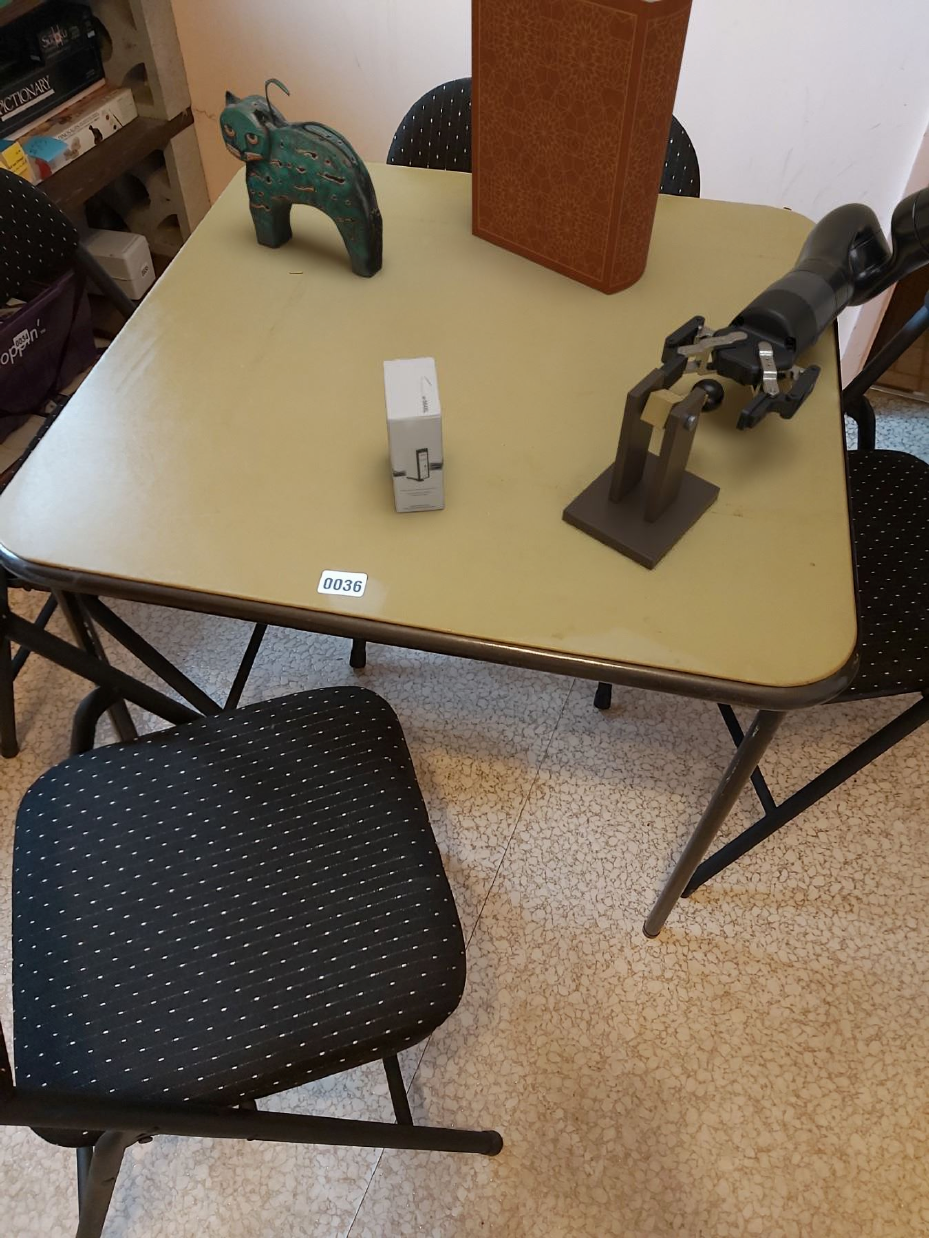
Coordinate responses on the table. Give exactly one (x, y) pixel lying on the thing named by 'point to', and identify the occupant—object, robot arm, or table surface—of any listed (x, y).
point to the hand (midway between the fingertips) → (700, 403)
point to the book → (573, 129)
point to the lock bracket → (646, 482)
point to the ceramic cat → (302, 177)
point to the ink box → (414, 433)
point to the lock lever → (667, 401)
